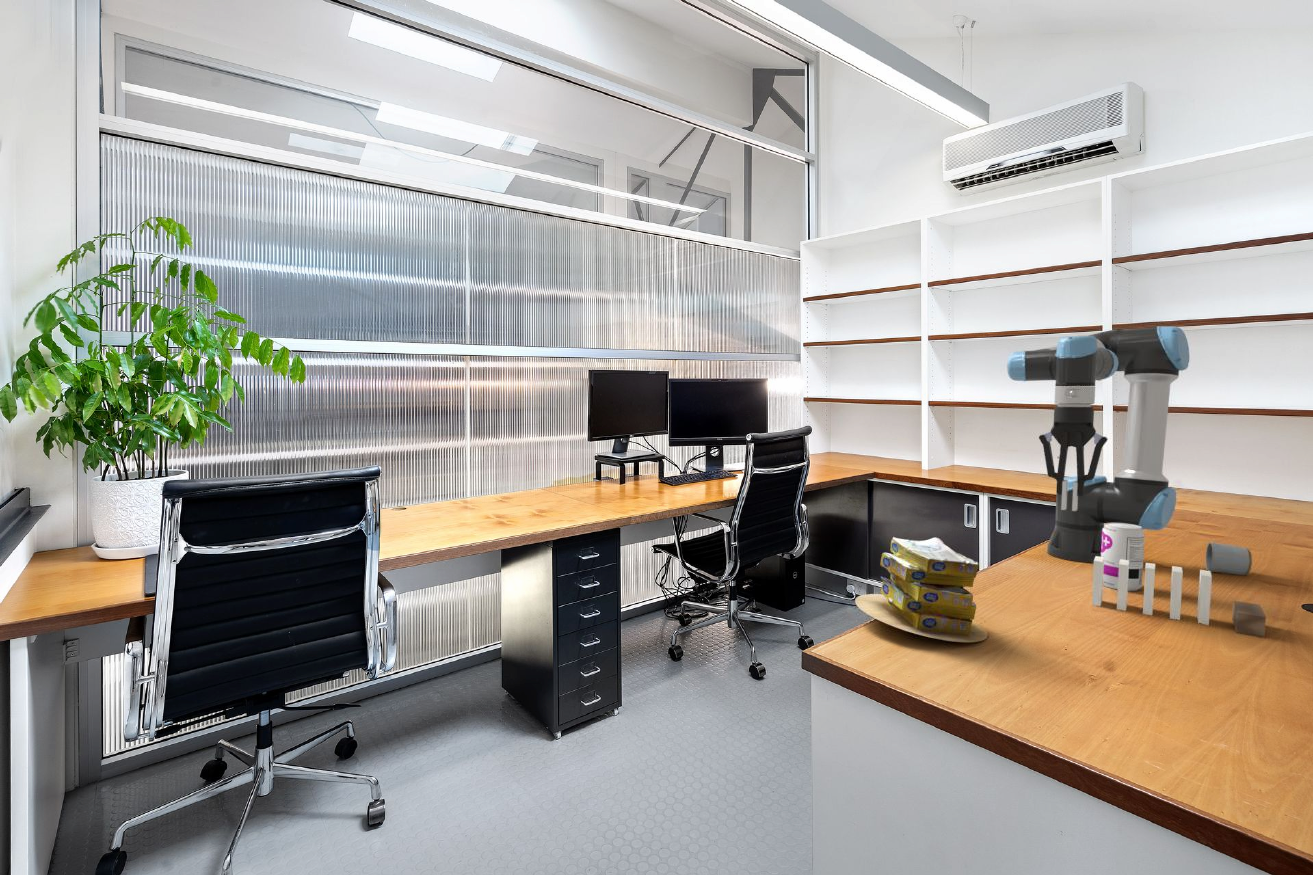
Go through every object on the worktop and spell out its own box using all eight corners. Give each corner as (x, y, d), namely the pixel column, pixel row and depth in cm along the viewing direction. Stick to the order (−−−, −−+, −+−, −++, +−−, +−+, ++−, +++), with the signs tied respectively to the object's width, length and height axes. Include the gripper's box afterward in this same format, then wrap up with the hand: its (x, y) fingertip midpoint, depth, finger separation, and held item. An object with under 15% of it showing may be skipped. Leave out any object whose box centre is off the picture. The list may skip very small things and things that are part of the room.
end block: (1236, 632, 124) (1237, 612, 124) (1232, 619, 131) (1233, 600, 131) (1264, 637, 122) (1265, 616, 121) (1258, 623, 129) (1260, 604, 128)
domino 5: (1198, 623, 129) (1201, 575, 129) (1197, 616, 133) (1200, 569, 132) (1208, 625, 128) (1211, 576, 128) (1207, 618, 132) (1210, 571, 131)
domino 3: (1142, 613, 135) (1145, 567, 134) (1143, 607, 139) (1145, 562, 138) (1152, 615, 134) (1154, 568, 133) (1152, 609, 138) (1155, 563, 137)
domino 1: (1091, 604, 140) (1093, 560, 140) (1093, 599, 144) (1095, 556, 144) (1100, 606, 139) (1102, 561, 139) (1102, 600, 143) (1104, 557, 143)
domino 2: (1116, 609, 138) (1119, 564, 137) (1117, 603, 142) (1120, 559, 141) (1125, 610, 137) (1128, 565, 136) (1126, 604, 141) (1129, 560, 140)
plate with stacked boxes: (961, 607, 139) (964, 532, 138) (1009, 652, 115) (1012, 562, 114) (846, 602, 142) (847, 529, 141) (868, 645, 118) (870, 557, 117)
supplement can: (1102, 588, 152) (1105, 527, 151) (1097, 579, 159) (1100, 520, 158) (1144, 593, 148) (1148, 530, 147) (1137, 584, 156) (1140, 524, 154)
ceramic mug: (1252, 578, 160) (1254, 548, 160) (1210, 574, 164) (1212, 544, 164) (1240, 569, 169) (1242, 541, 169) (1201, 565, 173) (1202, 537, 173)
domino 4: (1170, 618, 132) (1172, 571, 131) (1169, 611, 136) (1172, 566, 135) (1179, 620, 131) (1182, 572, 130) (1179, 613, 135) (1182, 567, 134)
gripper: (1034, 405, 144) (1030, 508, 146) (1112, 406, 135) (1106, 515, 137) (1039, 405, 150) (1035, 503, 152) (1114, 405, 141) (1109, 510, 143)
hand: (1069, 509), depth 144 cm, fingers closed
